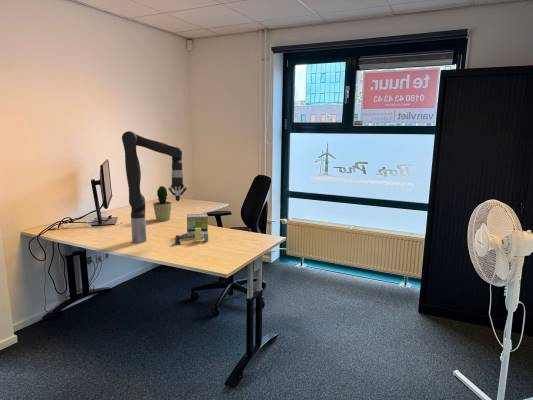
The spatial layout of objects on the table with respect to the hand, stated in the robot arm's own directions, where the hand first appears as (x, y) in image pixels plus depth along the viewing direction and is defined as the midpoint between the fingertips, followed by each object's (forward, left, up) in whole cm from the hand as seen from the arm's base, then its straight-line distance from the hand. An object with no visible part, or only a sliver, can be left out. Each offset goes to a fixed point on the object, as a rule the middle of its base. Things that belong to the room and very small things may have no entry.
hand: (177, 200), depth 262 cm
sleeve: (+12, -12, -26) cm, 31 cm away
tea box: (+14, +7, -28) cm, 32 cm away
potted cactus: (-8, +61, -28) cm, 68 cm away
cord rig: (+8, -12, -27) cm, 31 cm away
